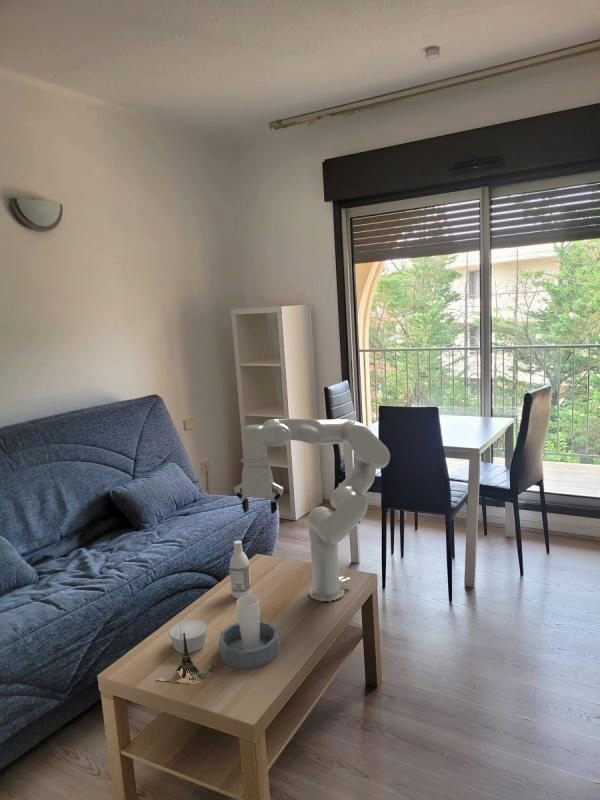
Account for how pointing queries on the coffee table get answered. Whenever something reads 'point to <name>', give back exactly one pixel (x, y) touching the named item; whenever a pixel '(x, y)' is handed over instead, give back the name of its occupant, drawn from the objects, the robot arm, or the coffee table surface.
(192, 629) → the ramekin
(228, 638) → the bowl
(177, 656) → the coffee table surface
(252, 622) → the drinking glass
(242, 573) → the bath foam
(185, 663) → the eiffel tower figurine
